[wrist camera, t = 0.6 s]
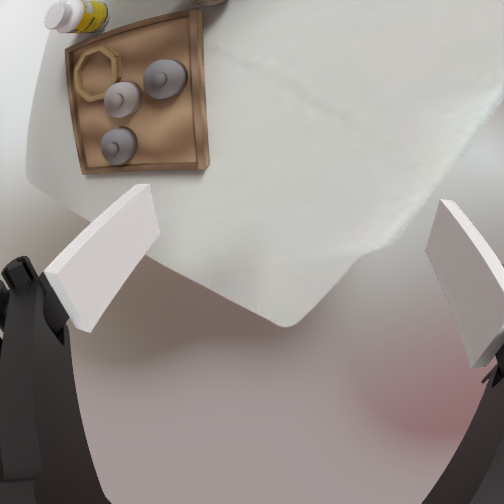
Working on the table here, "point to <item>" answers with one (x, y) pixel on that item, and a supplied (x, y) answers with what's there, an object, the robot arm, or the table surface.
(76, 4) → the supplement bottle
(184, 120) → the carrier
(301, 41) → the table surface
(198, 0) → the decorative egg
